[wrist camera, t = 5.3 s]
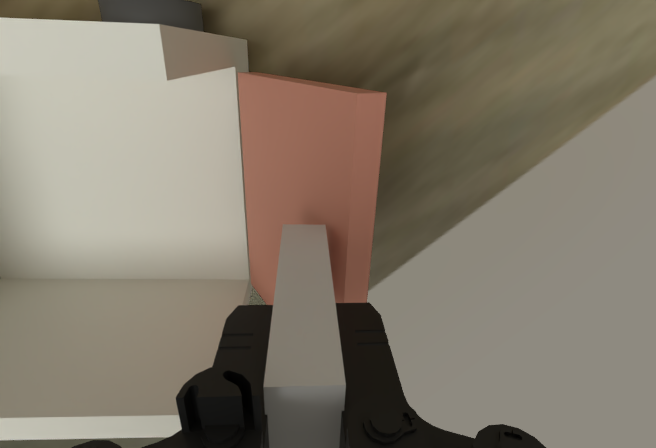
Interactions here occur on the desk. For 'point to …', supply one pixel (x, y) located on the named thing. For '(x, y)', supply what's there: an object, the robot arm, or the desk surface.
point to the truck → (116, 217)
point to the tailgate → (311, 173)
